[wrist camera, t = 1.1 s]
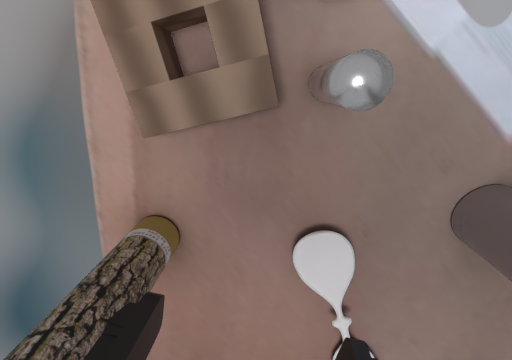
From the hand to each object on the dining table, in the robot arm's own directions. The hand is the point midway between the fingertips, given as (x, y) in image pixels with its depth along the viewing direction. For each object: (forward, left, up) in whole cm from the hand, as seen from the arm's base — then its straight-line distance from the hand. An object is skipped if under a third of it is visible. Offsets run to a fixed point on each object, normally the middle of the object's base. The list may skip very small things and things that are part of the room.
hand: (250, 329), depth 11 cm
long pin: (-9, -8, -25) cm, 28 cm away
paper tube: (+19, +8, -26) cm, 33 cm away
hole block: (+5, -15, -25) cm, 30 cm away
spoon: (-6, +27, -26) cm, 38 cm away
